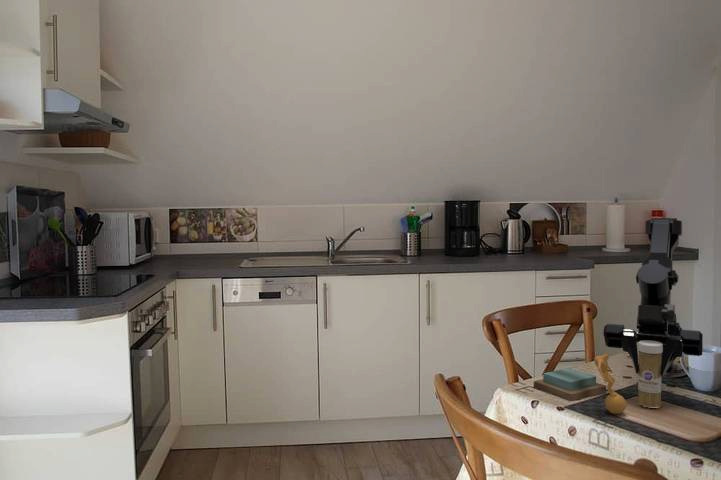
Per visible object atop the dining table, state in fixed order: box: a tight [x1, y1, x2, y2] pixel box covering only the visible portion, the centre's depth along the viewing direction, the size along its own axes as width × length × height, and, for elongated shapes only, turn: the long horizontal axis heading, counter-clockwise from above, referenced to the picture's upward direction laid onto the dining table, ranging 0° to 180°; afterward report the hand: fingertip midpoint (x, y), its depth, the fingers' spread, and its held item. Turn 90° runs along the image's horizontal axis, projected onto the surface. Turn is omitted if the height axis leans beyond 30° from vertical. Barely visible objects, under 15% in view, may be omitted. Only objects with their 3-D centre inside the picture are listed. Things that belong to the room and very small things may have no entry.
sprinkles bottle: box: [637, 340, 663, 408], centre depth 122 cm, size 5×5×13 cm
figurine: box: [593, 353, 627, 415], centre depth 119 cm, size 8×6×12 cm
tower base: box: [533, 368, 607, 402], centre depth 134 cm, size 11×11×4 cm
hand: (649, 374), depth 121 cm, fingers open, 4 cm apart
